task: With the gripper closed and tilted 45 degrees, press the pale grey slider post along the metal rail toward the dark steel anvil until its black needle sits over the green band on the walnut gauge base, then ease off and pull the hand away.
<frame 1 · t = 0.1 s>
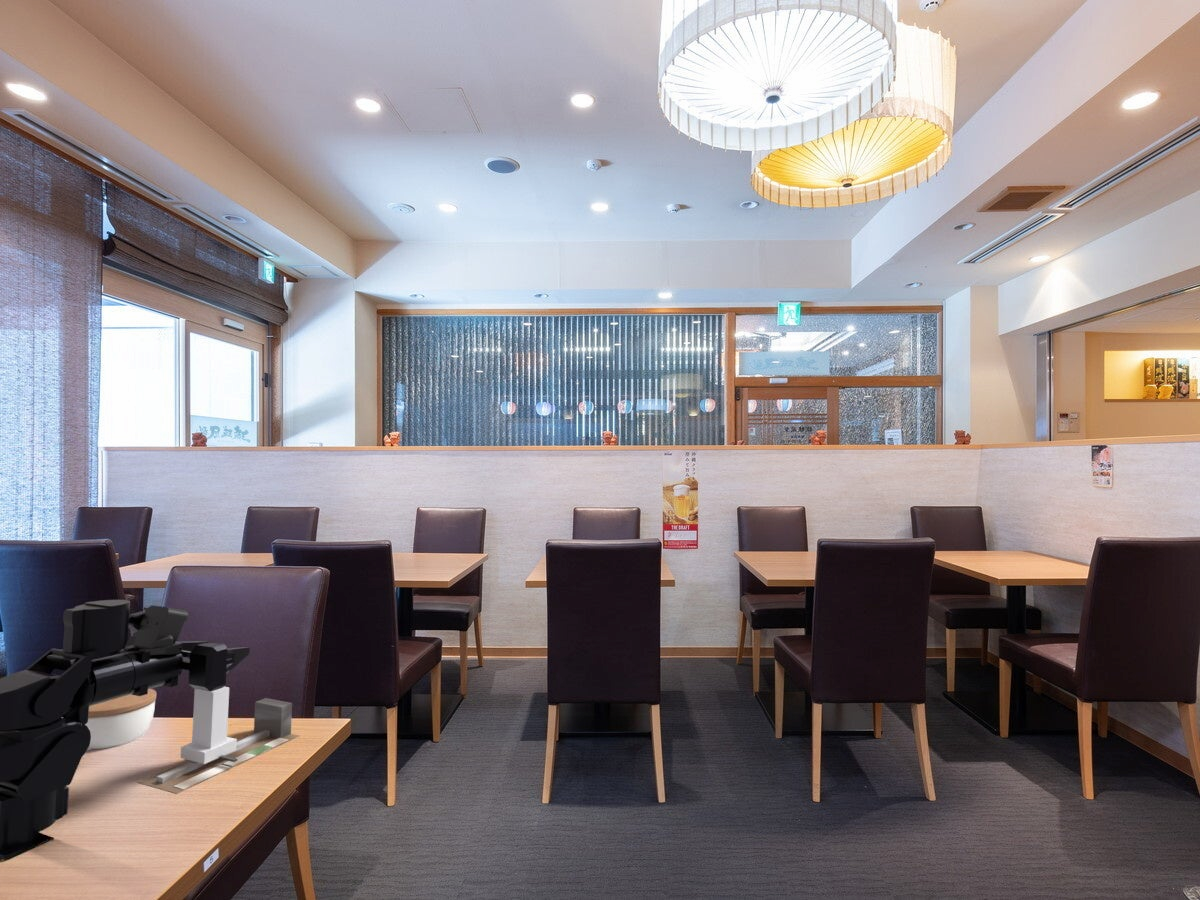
hand: (228, 647, 96), 16 cm above the table, tool horizontal, fingers open, 9 cm apart
lidded jar: (112, 748, 97), on the table
slider: (217, 723, 89), point 7 cm above the table, slide at 0.0 cm
gauge base: (225, 767, 90), on the table
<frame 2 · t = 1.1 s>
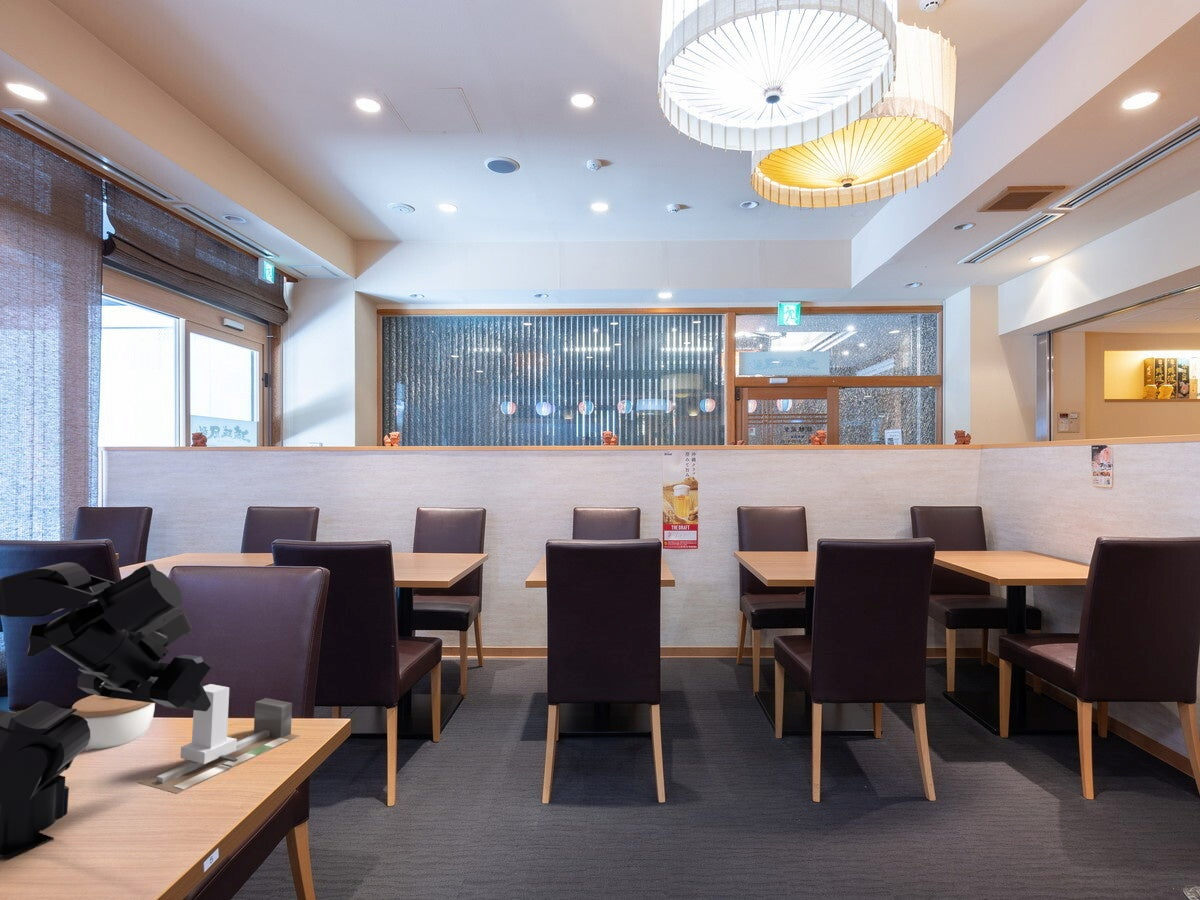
hand: (185, 704, 86), 11 cm above the table, tool tilted 45°, fingers open, 9 cm apart
nothing on the table moved.
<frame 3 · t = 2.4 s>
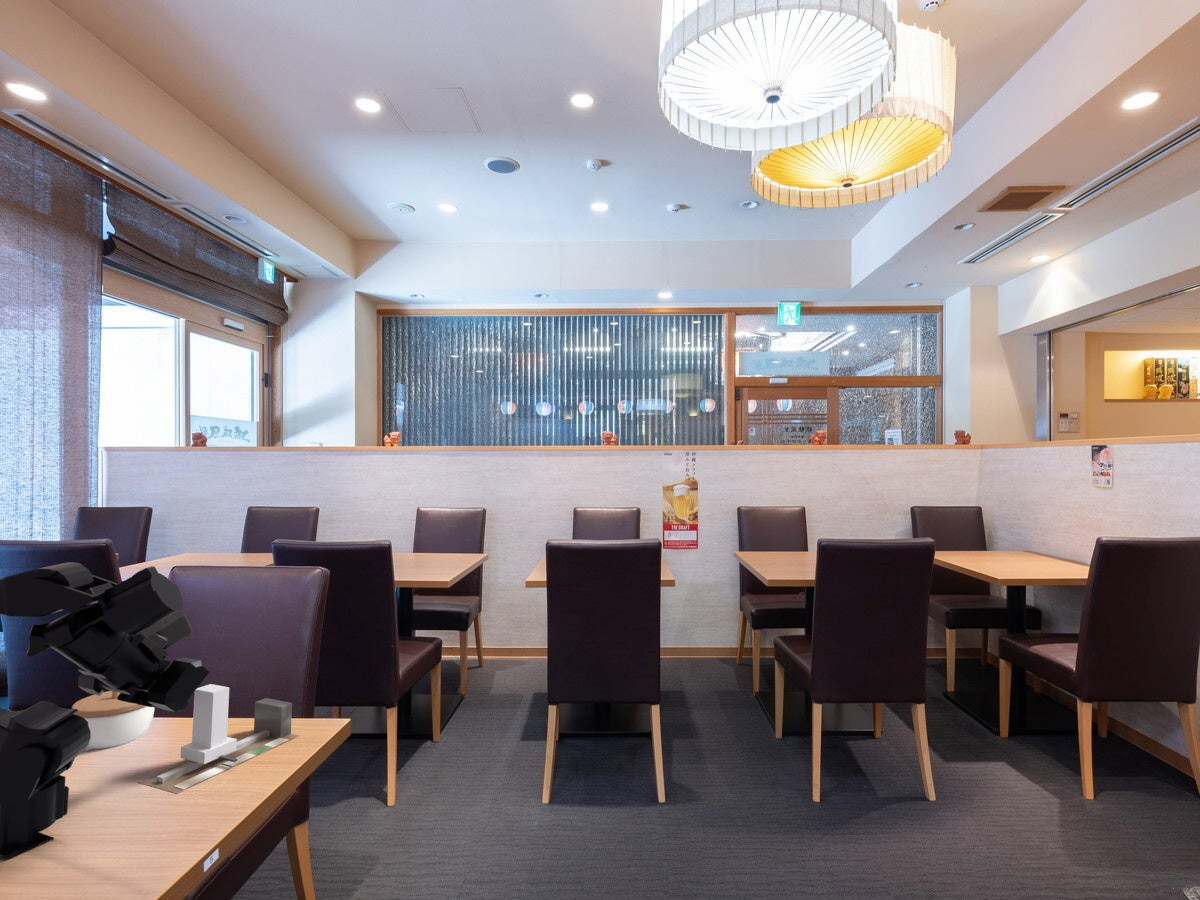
hand: (184, 706, 86), 11 cm above the table, tool tilted 45°, fingers closed
nothing on the table moved.
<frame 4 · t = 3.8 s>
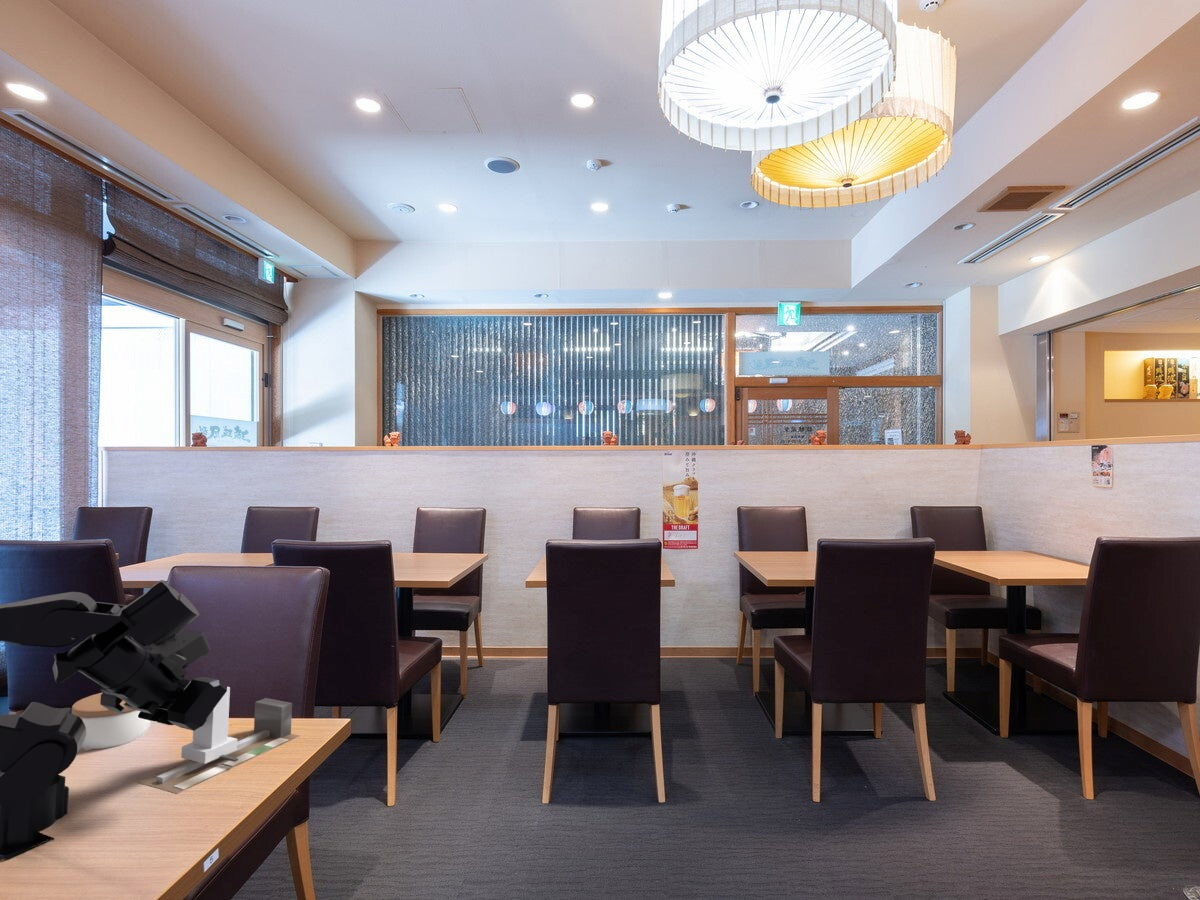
hand: (202, 723, 88), 8 cm above the table, tool tilted 45°, fingers closed, pressing on slider
slider: (218, 722, 89), point 7 cm above the table, slide at 0.1 cm, touching gripper
everything else where it was.
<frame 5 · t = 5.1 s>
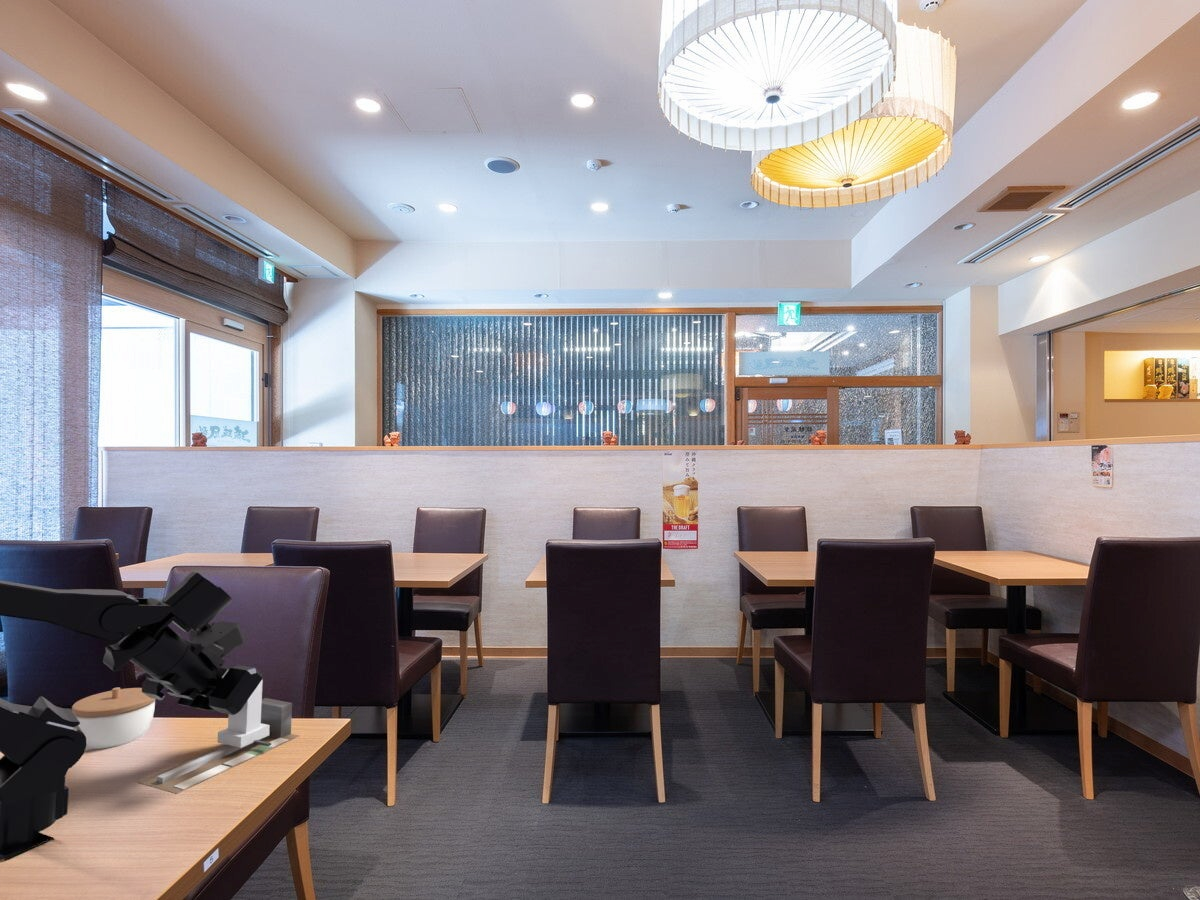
hand: (236, 709, 93), 8 cm above the table, tool tilted 45°, fingers closed, pressing on slider
slider: (252, 709, 94), point 7 cm above the table, slide at 5.7 cm, touching gripper
everything else where it was.
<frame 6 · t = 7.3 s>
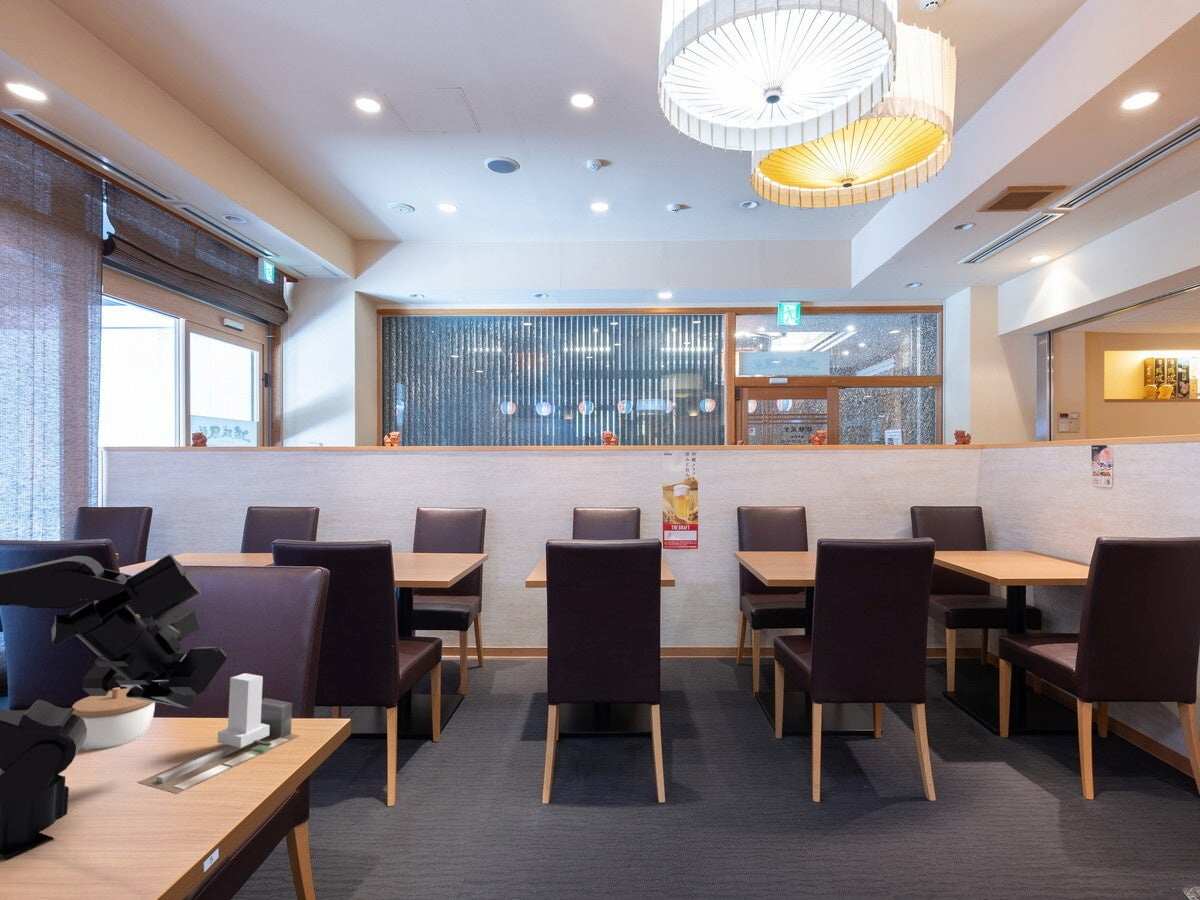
hand: (190, 704, 87), 11 cm above the table, tool tilted 40°, fingers closed
slider: (252, 709, 94), point 7 cm above the table, slide at 5.7 cm
everything else where it was.
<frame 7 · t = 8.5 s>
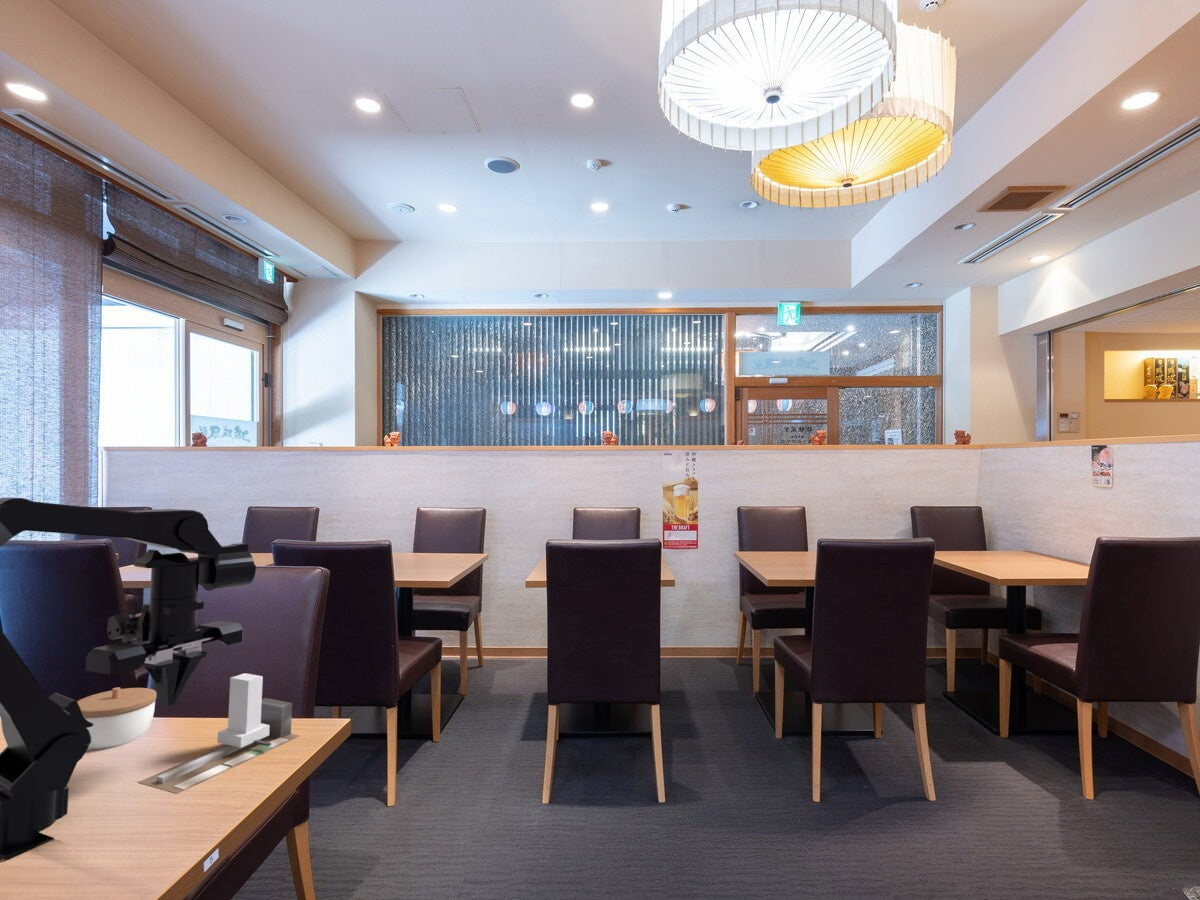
hand: (168, 705, 86), 11 cm above the table, tool pointing down, fingers closed
nothing on the table moved.
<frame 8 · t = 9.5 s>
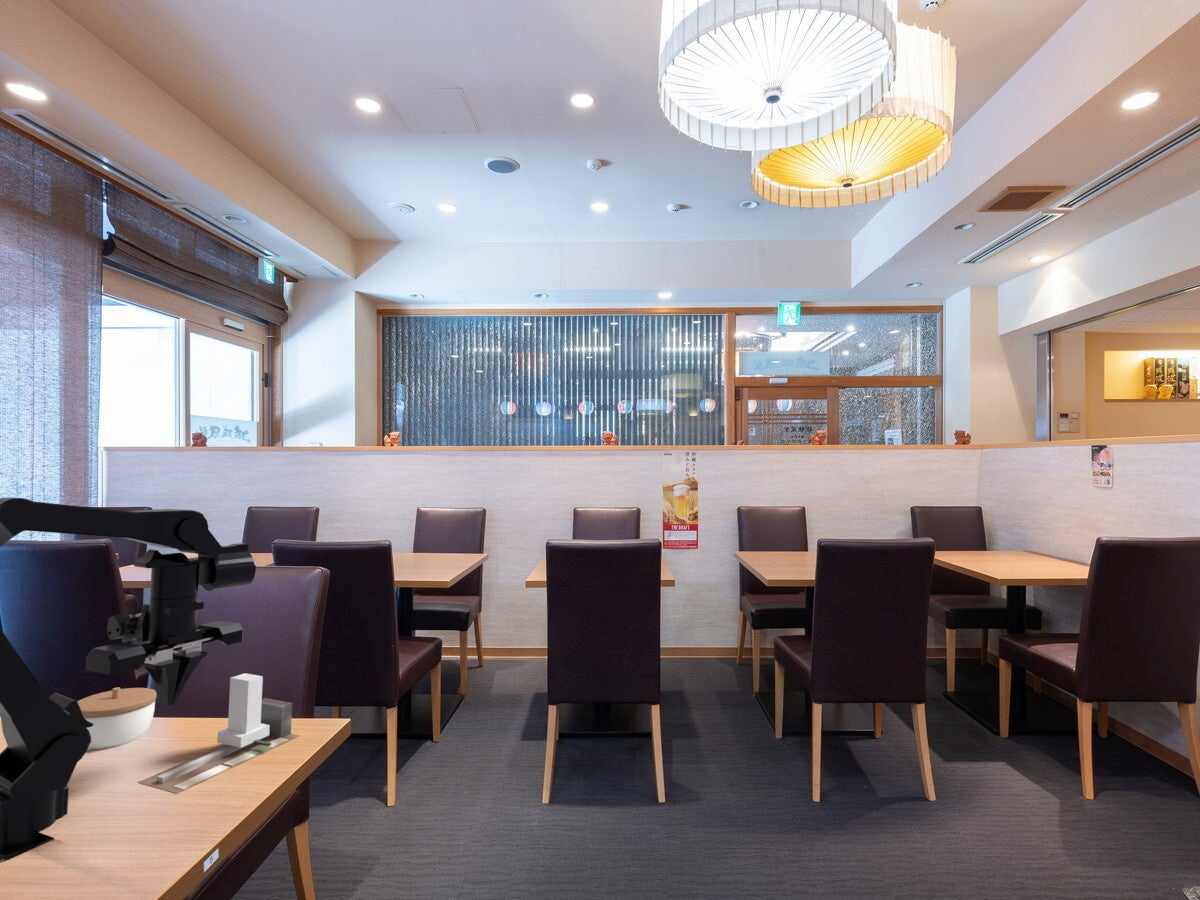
hand: (168, 705, 86), 11 cm above the table, tool pointing down, fingers closed
nothing on the table moved.
at the end: slider slide at 5.7 cm; lidded jar moved 0.2 cm from its start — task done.
